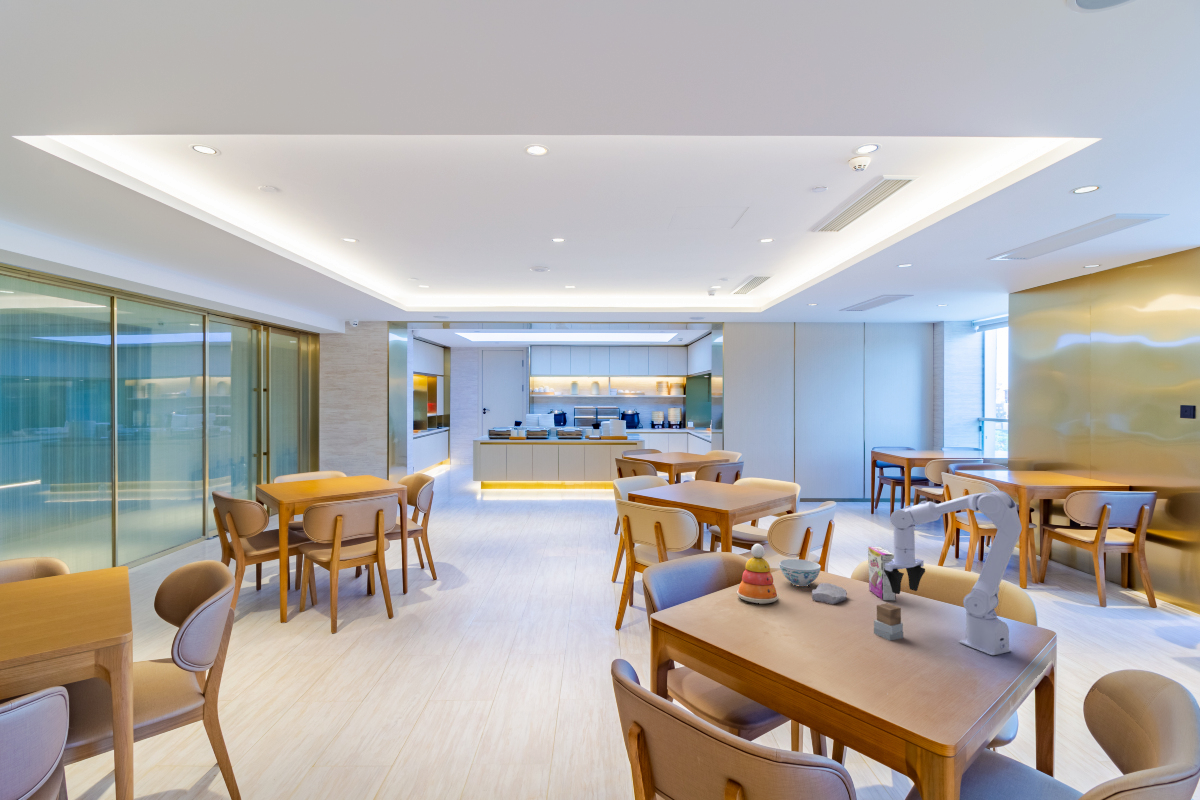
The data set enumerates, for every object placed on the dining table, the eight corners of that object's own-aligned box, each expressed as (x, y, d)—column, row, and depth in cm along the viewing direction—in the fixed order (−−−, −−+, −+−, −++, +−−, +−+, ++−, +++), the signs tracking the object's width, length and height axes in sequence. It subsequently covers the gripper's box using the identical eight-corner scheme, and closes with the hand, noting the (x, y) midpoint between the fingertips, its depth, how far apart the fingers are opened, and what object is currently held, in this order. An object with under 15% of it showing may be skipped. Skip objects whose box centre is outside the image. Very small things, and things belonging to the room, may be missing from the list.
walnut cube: (887, 618, 166) (887, 603, 166) (900, 623, 161) (900, 608, 162) (876, 620, 164) (876, 605, 164) (890, 625, 160) (889, 610, 160)
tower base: (903, 639, 161) (903, 631, 161) (889, 641, 159) (889, 634, 159) (887, 632, 166) (887, 624, 166) (873, 634, 164) (873, 627, 164)
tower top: (902, 630, 162) (902, 623, 162) (892, 634, 159) (892, 626, 159) (884, 624, 166) (884, 617, 166) (874, 628, 164) (874, 620, 164)
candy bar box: (867, 590, 204) (867, 546, 204) (881, 591, 204) (881, 546, 204) (882, 601, 193) (881, 554, 193) (896, 601, 192) (895, 554, 193)
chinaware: (771, 580, 216) (771, 560, 217) (803, 577, 221) (803, 557, 221) (795, 592, 202) (795, 571, 202) (829, 588, 207) (829, 567, 207)
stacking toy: (764, 609, 185) (763, 551, 185) (728, 598, 195) (728, 543, 196) (786, 599, 194) (785, 544, 195) (751, 590, 205) (751, 537, 205)
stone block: (848, 602, 197) (819, 591, 203) (850, 589, 196) (822, 579, 202) (838, 612, 188) (809, 601, 194) (840, 599, 187) (811, 588, 193)
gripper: (909, 542, 177) (909, 585, 177) (876, 546, 172) (876, 590, 171) (929, 547, 171) (930, 591, 170) (896, 552, 165) (896, 597, 165)
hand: (904, 591), depth 171 cm, fingers open, 7 cm apart
